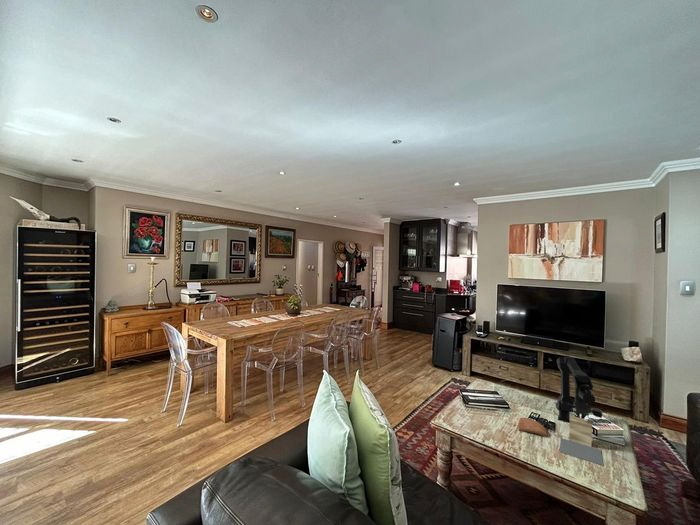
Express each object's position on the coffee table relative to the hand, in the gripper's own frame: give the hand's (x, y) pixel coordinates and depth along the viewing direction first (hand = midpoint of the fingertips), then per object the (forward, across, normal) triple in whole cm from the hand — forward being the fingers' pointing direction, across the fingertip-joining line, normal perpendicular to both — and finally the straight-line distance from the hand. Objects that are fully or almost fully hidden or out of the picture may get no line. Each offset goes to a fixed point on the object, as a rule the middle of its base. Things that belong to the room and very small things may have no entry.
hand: (580, 423), depth 176 cm
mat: (+10, 0, -13) cm, 16 cm away
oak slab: (+9, 0, -2) cm, 10 cm away
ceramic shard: (+10, -24, -3) cm, 26 cm away
